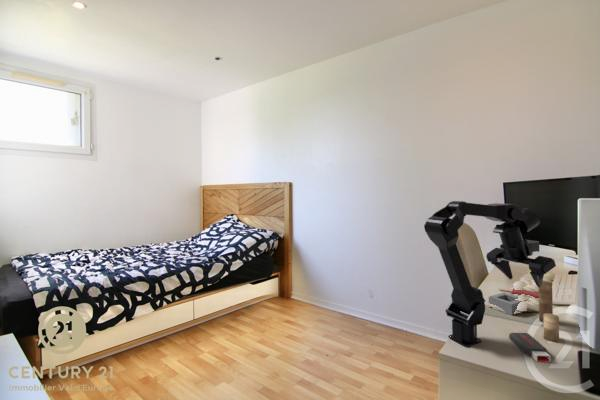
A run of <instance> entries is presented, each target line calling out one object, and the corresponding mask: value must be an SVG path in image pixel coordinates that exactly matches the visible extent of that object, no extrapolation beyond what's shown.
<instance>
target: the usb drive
mask: <svg viewBox="0 0 600 400" xmlns="http://www.w3.org/2000/svg"><path fill="white" fill-rule="evenodd" d="M508 339H509V340H510V341H511V342H513V343H512V344H514V345H515V346H516V347H517V348H518V349H519V350H520V351H521V352H522V353H523V354H525V356H527V357H530V358H532V359H534V361H536V362H546V363H549V362H552V361H551V355H550V354H548V349H547V348H546V347H545V346H544V345H543V344H541V343H540V342H539V341H538V340H537V339H535V338H534V337H533V336H532V335H530V333H528V332H510V333H509V335H508Z"/></svg>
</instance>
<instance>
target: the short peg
mask: <svg viewBox="0 0 600 400" xmlns="http://www.w3.org/2000/svg"><path fill="white" fill-rule="evenodd" d="M543 318H544V323H543V339H544V340H546V341H547V342H551V343H559V342H560V318H559V316H558V315H557V314H554V313H553V314H549V313H545V314H543Z"/></svg>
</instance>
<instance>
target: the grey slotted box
mask: <svg viewBox="0 0 600 400" xmlns="http://www.w3.org/2000/svg"><path fill="white" fill-rule="evenodd" d="M519 297H520V296H518V295H514V294H510V293H507V292H502V293H501V292H500V293H497V294H493V295H490V296H488V304H489V303H490V304H493V305H496V306H498V307H500V308H502V309H503V310H504V311H505V312H506V313H507V315H509V316H515V315H514V312H515V310H516V309H517V306H518V304H519V303H520V302H522V301H519V300H515V299H518V298H519ZM525 299H526V298H525ZM527 300H528V299H526V300H524V301H527ZM506 313H505V314H506Z"/></svg>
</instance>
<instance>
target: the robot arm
mask: <svg viewBox="0 0 600 400" xmlns="http://www.w3.org/2000/svg"><path fill="white" fill-rule="evenodd" d="M466 216H475V217H484V218H486V219H487V220H490V221H493V222H502V223H500V224H496V225H495V227H494V228H493V230H492V233H494V234H499V238H500V240H501V241H500V242H501V244H500V245H499V247H494V248H493V249H492V250H490V251H489V252H487V253H486V255H485V256H486V260H487V262H489V263H490V264H491V265H493V266H494V267H496V268H497V269H498V270H499V271H500V272H502V274H504V276H506V278H508V279H509V280H512V279H513V272H512V269H511V265H510V262H511V263H517V264H524V265H528V269H529V270H530V271H529V273H530V276H531V278H532V279H533V281H534V283H535V285H536V287H538V289H539V288H540V287H541V286H542V281H544V276H545V275H546V274H547V273H549V271H551V270H552V269H554V268H555V267H557V265H556V261H555V259H554V258H552V257H548V256H542V255H538V256H537V257H535V258H530V257H531V256H533V255H534V253H535V252H536V253H539V252H540V241H538V240H530V239H523V236H522V235H523V234H524V235H525V234H527V233H528V232H530V231H531V230H533V229H534V228H536V227H537V226H539V224H540V223H541V220H540V217H539V216H538V215H537V213H535V212H533V211H531V208H530V207H529V208H528V207H527V208H526V207H524V208H523V207H522V209H519V208H518V205H516V204H515V203H500V202H499V203H498V202H497V203H488V204H483V203H472V202H466V201H462V200H461V201H460V200H459V201H458V200H453V201H449V202H448V203H447V205H446V206H445V207H443V208H441V209H439V210H437V211H435V212H434V213H433V214H432V215H431V216H430V217H428V218H427V219H426V221H425V224H424V226H423V228H424V231H425V233H426V235H427V237H428V238H429V239H430V241H431V242H432V243H433V244H434V245H435V246H436V247H437V249H438V250H439V253H440V256H441V259H442V262H443V264H444V267H445V270H446V272H447V276H448V277H449V280H450V283H451V285H452V290H451V291H452V292H451V294H450V295H451V296H450V297H451V301H450V302H449V304H448V305H447V307H446V308H445V314H446V316H447V317H449V318H452V319H451V325H452V326H451V328H452V329H451V330H452V331H451V333H452V334H449V335H448V336H447V337H448V338H449V337H450V336H451V337H450V338H451V340H452V341H454V342H456V343H458V344H460V345H461V344H462V345H461V346H463V345H464V346H463V347H465V346H467V347H470V346H473V345H476V344H479V343H481V342H482V340H481V339H480V338H478V329H477V328H478V326H479V325H482V324H483V320H484V316H485V311H486V304H485V302H486V299H485V298H484V295H483V291H482V289H480V288H478V287H474V286H472V284H471V281H470V279H469V276H468V273H467V269H466V267H465V265H464V261H463V258H462V256H461V254H460V253H461V252H460V251H459V249H458V245H457V242H458V238H459V235H460V234H459V230H460V228H461V227H462V226H464V221H465V217H466ZM451 217H452V218H451ZM450 338H449V339H450Z"/></svg>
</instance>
